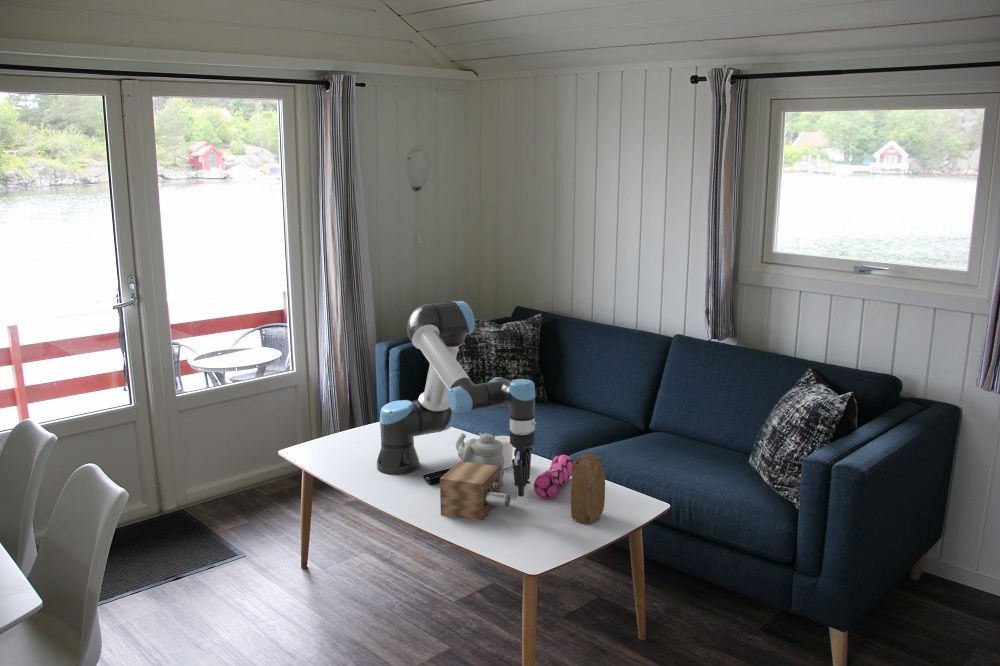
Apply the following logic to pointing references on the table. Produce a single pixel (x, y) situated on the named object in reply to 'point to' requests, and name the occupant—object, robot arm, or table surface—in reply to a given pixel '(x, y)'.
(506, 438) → the white cup
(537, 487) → the pencil case
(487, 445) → the teapot
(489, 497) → the near peg
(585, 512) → the block
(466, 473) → the walnut block
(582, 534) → the table surface
